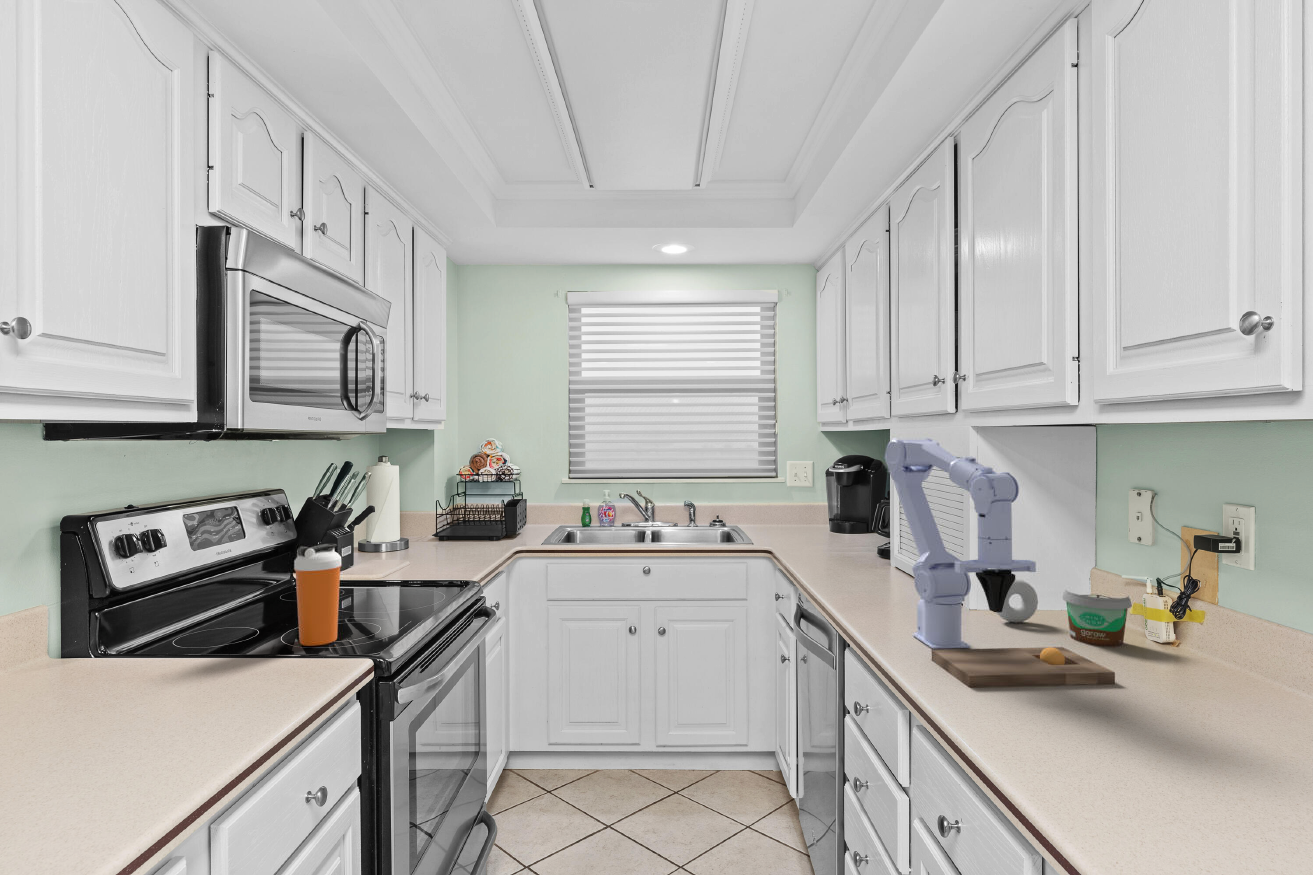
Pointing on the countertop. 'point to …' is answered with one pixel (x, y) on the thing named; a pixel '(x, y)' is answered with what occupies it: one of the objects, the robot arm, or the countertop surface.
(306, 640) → the shaker bottle
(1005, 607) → the donut
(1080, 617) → the food container
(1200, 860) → the countertop surface
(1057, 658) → the ball
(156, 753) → the countertop surface
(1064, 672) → the board
